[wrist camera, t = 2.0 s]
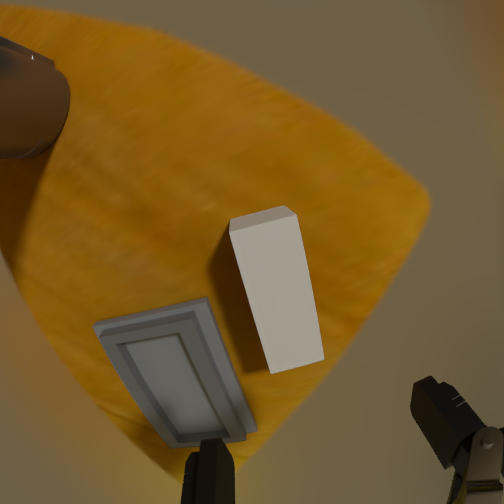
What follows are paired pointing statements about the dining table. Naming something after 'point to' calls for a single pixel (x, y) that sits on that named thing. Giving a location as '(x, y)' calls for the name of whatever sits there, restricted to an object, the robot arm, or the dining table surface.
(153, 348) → the cradle
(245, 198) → the dining table surface
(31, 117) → the robot arm
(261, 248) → the off-white tapered block
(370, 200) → the dining table surface
